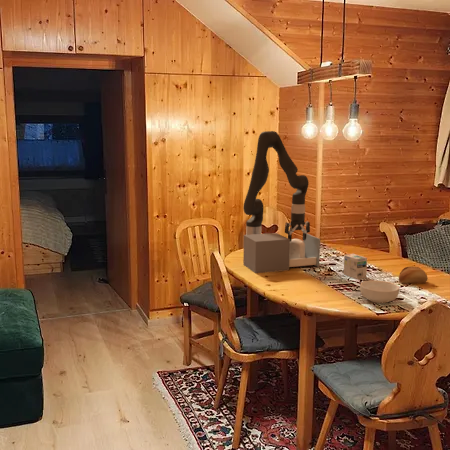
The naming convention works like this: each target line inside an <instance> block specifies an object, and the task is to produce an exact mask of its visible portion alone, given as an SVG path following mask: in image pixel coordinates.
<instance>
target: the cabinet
mask: <svg viewBox="0 0 450 450" xmlns="http://www.w3.org/2000/svg"><path fill="white" fill-rule="evenodd" d="M289 253H290V239H288V237H286V236H284V235H281V234H280V233H278V232H271V233H270V232H269V233H261V234H252V235H246V234H244V235H243V266H244V267H245V268H247V269H248V270H250V271H251V272H253V273H254V274H260V273H272V272H273V273H274V272H285V271H290V267H289Z"/></svg>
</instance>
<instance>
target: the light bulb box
mask: <svg viewBox="0 0 450 450" xmlns="http://www.w3.org/2000/svg"><path fill="white" fill-rule="evenodd" d="M343 256H344V257H343V275H345V276H347V277H350V278H353V279H355V280H360V279H367V272H368V271H367V270H368V269H367V268H368V267H367V266H368V257H366V256H363V255H359V254H355V253H347V254H344V255H343Z"/></svg>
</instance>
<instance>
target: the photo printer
mask: <svg viewBox="0 0 450 450" xmlns="http://www.w3.org/2000/svg"><path fill="white" fill-rule="evenodd" d="M300 258H305V243H304V242H303V239H299V238H292V240H291V241H290V253H289V259H300Z"/></svg>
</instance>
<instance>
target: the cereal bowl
mask: <svg viewBox="0 0 450 450" xmlns="http://www.w3.org/2000/svg"><path fill="white" fill-rule="evenodd" d="M359 288H360V294H361V295H362V296H363V297H364V298H365V299H367V300H369V301H370V302H372V303H375V304H386V303H389V302H392V301H394V300H396V299H397V298H398V296H399V293H400V286H399V285H397V284H395V283H392V282H389V281H385V280H375V279H374V280H365V281H362V282H361V283H360V286H359Z"/></svg>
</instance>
